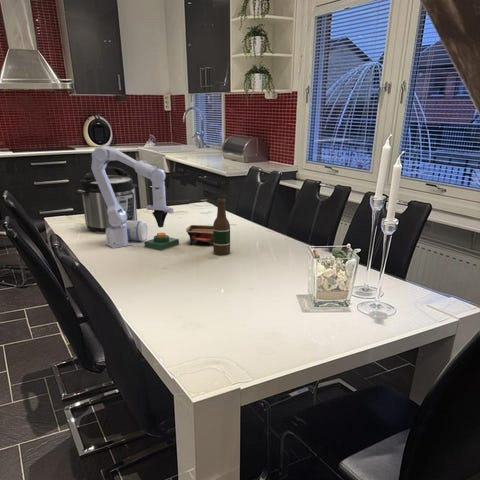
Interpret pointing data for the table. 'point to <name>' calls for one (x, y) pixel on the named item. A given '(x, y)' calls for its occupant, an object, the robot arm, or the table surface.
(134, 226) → the supplement tub
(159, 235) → the button
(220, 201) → the beer bottle
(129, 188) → the pressure cooker
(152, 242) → the button box
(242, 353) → the table surface
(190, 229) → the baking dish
